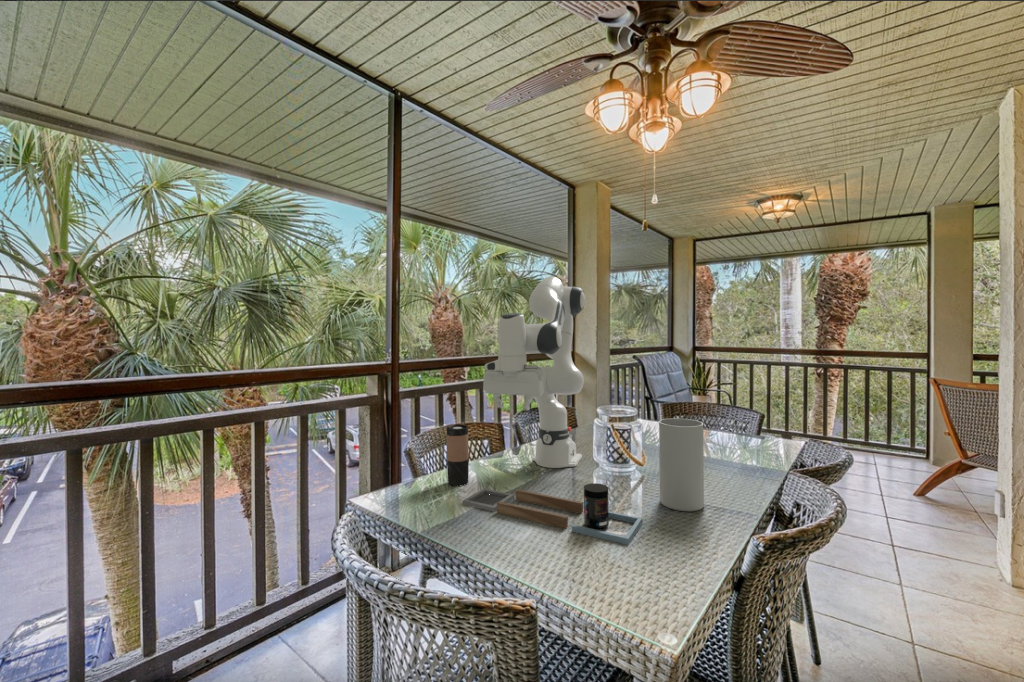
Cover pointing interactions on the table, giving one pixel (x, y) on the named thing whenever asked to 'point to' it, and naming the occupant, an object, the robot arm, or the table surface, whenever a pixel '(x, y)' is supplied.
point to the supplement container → (596, 506)
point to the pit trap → (487, 499)
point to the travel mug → (457, 455)
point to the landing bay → (611, 536)
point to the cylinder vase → (681, 464)
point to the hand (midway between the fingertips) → (513, 408)
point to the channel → (539, 514)
